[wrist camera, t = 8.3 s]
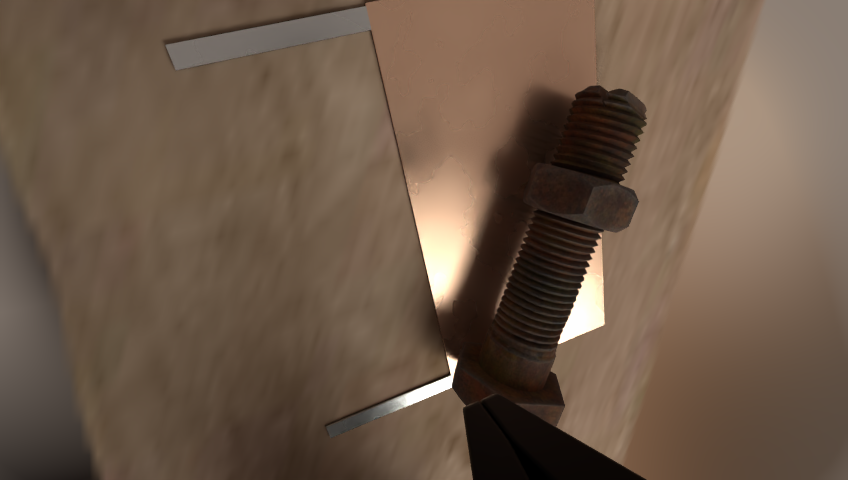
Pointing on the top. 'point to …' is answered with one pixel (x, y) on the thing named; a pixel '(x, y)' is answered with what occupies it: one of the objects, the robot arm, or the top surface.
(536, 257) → the bolt
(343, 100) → the top surface
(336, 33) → the seat and pad
